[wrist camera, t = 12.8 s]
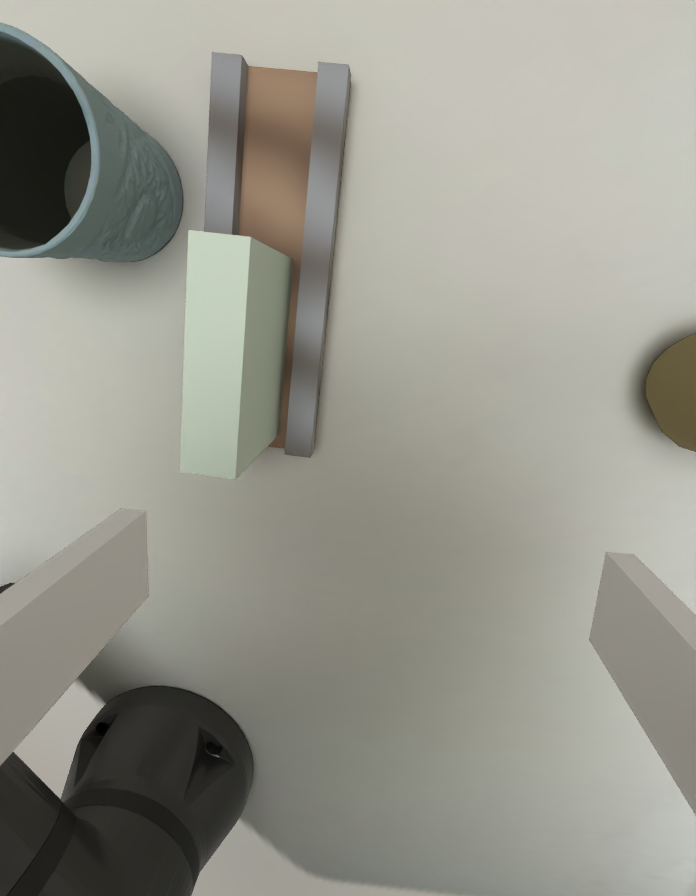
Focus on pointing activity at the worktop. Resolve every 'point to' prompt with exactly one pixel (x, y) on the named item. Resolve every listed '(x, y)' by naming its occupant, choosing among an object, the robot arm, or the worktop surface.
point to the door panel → (232, 351)
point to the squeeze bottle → (675, 392)
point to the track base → (283, 200)
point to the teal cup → (75, 165)
